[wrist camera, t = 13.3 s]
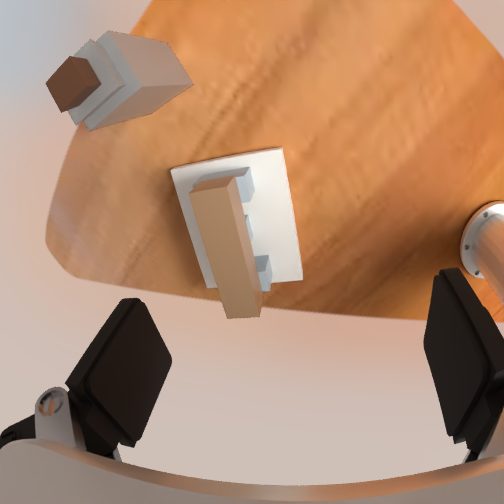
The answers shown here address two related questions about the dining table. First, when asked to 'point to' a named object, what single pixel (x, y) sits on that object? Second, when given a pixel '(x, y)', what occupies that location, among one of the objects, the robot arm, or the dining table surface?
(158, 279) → the dining table surface
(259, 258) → the stand
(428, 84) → the dining table surface
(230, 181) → the long tan plank
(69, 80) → the perfume bottle
